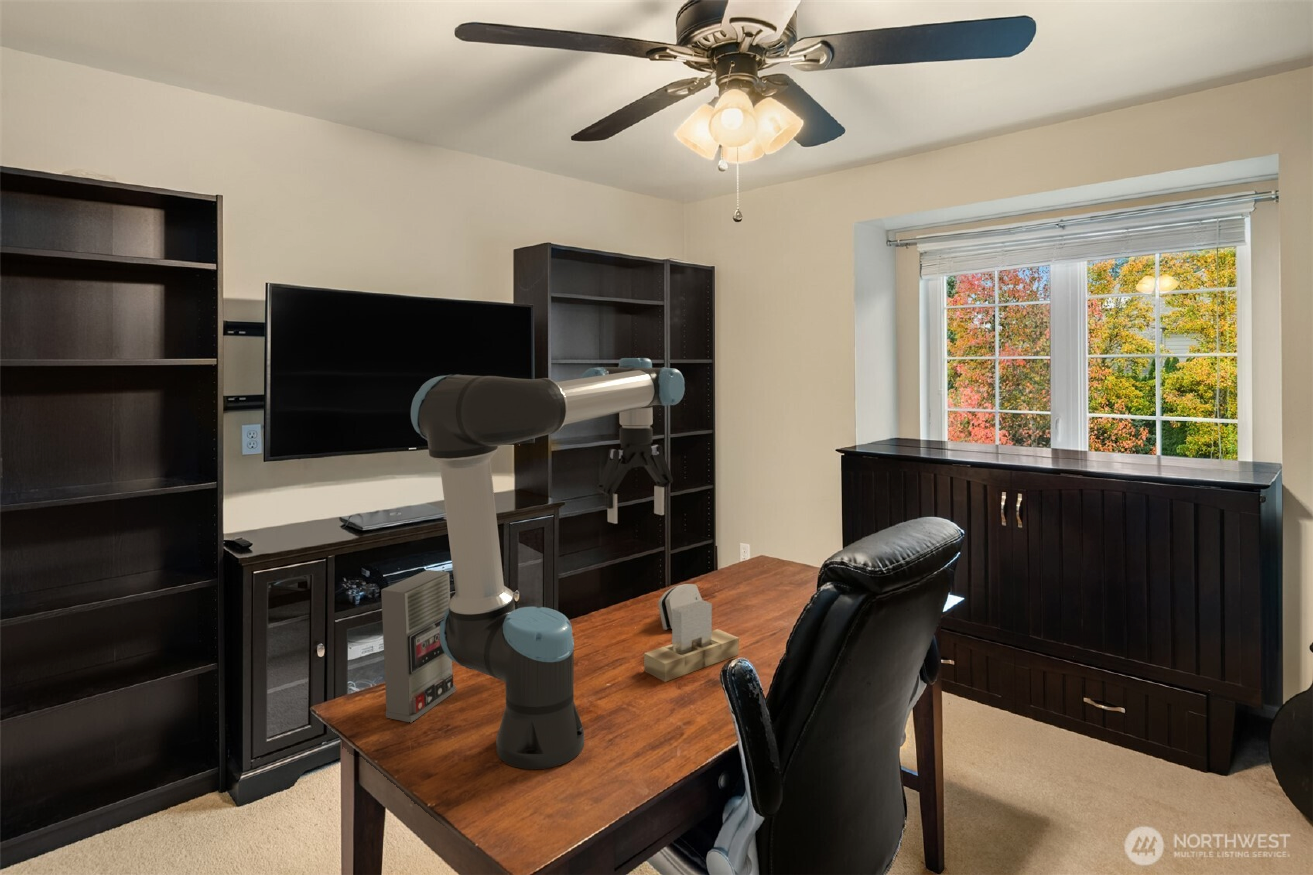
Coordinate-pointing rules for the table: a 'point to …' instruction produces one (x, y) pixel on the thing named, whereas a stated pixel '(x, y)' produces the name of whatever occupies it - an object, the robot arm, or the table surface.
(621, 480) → the robot arm
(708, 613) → the grey notched block
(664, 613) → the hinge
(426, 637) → the cassette tape recorder
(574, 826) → the table surface
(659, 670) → the beige open box
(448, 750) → the table surface
